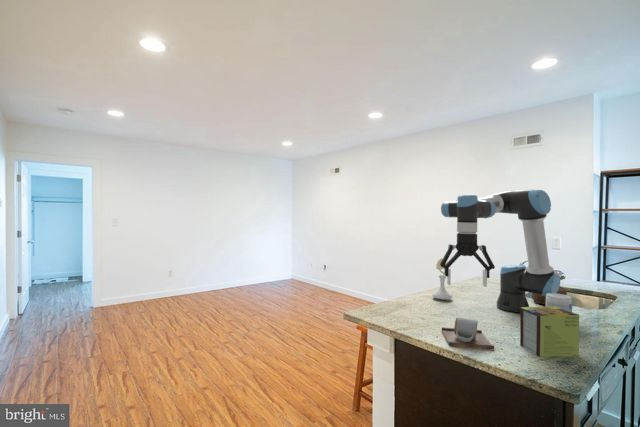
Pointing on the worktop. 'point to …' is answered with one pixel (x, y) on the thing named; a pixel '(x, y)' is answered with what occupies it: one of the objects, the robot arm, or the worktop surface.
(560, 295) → the supplement tub
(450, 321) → the worktop surface
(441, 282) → the flower in vase
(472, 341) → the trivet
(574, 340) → the protein box
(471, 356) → the worktop surface
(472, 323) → the ceramic mug
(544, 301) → the bread
